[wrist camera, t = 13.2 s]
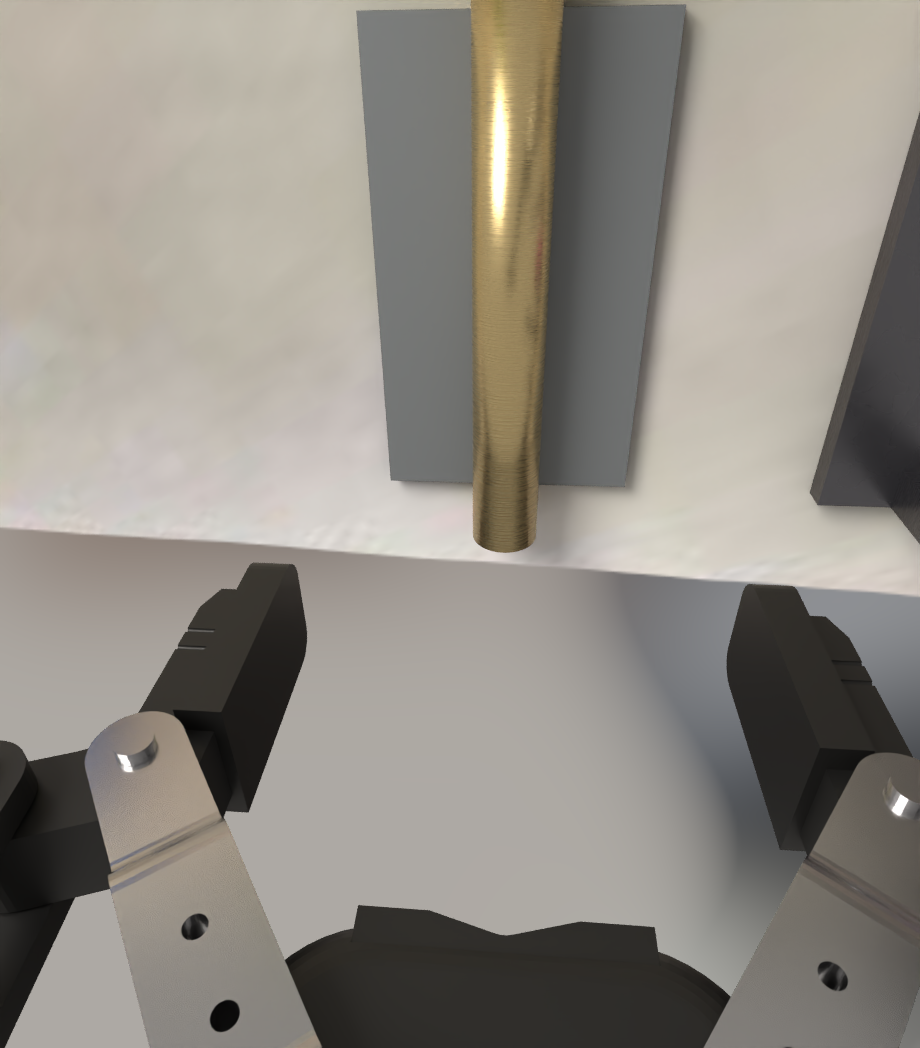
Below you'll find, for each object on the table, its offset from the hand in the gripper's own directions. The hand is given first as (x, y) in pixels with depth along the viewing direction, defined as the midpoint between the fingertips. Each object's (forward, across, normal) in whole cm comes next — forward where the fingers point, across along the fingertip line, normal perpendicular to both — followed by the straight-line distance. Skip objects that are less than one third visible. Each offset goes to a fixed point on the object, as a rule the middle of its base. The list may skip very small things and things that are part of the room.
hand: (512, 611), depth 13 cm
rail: (+21, 0, 0) cm, 21 cm away
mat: (+23, 0, 0) cm, 23 cm away
